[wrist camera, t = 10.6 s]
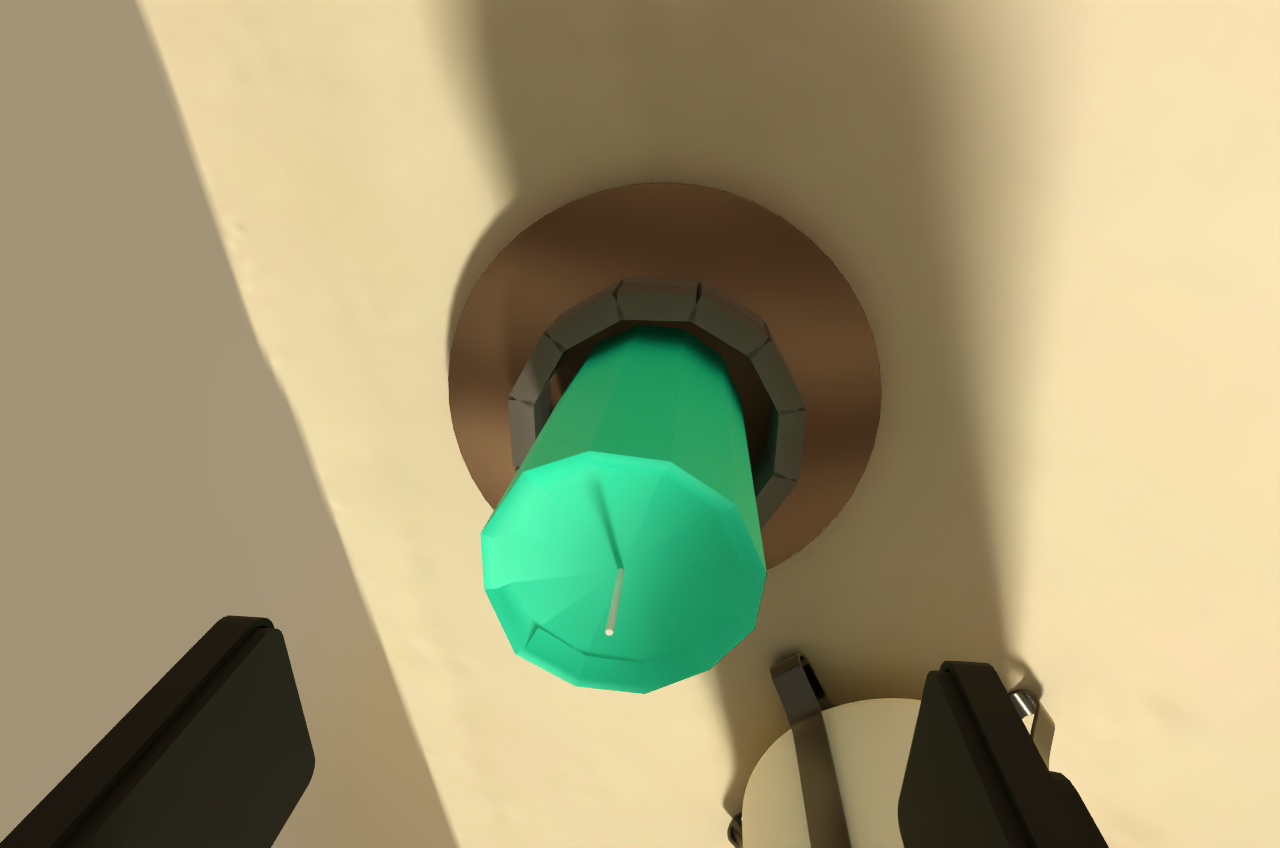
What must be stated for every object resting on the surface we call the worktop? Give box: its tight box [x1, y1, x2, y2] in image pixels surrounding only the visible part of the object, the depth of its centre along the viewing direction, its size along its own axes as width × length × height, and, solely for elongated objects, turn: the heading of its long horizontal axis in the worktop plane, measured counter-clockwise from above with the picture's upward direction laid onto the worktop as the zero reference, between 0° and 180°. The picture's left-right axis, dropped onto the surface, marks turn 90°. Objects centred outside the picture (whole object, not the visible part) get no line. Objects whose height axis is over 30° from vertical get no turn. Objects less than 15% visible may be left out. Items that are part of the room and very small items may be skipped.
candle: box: [481, 324, 767, 694], centre depth 18 cm, size 6×6×12 cm
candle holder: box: [448, 183, 881, 570], centre depth 23 cm, size 15×15×4 cm
